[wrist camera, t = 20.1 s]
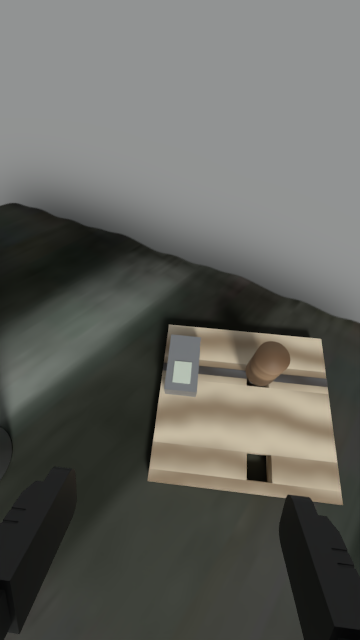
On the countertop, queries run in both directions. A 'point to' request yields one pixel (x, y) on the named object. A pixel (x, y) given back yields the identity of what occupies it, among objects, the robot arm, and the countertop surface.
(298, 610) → the robot arm
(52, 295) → the countertop surface
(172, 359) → the block
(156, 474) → the board
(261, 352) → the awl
